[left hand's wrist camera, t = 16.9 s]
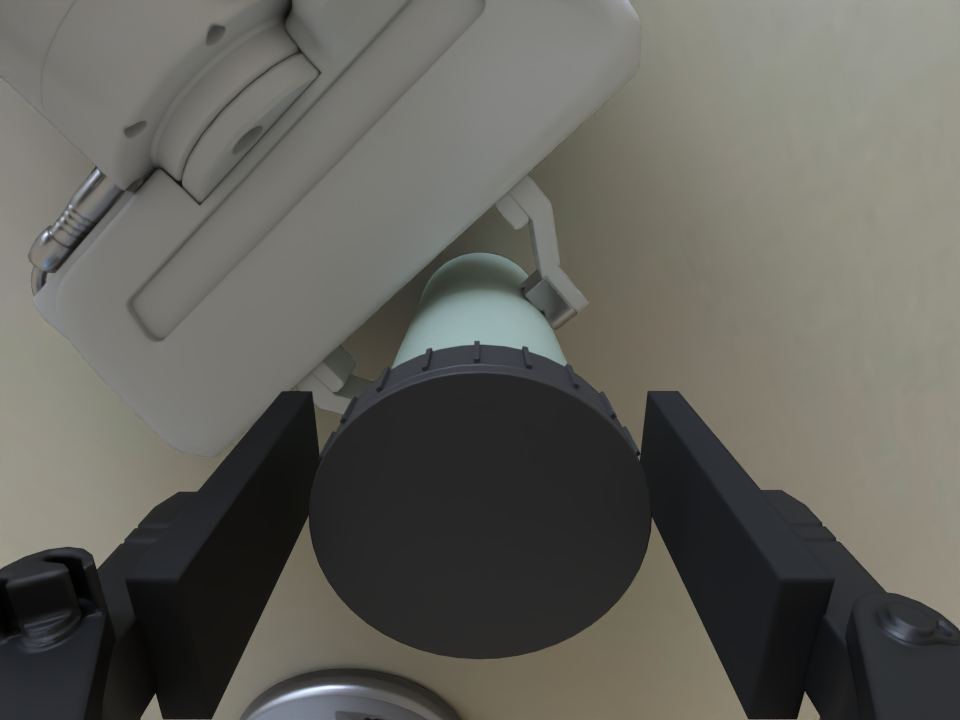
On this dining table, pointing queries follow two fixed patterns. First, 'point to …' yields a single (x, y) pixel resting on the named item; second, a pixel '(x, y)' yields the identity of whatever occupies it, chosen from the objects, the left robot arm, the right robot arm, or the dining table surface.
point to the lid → (480, 503)
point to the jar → (478, 310)
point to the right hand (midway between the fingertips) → (497, 373)
